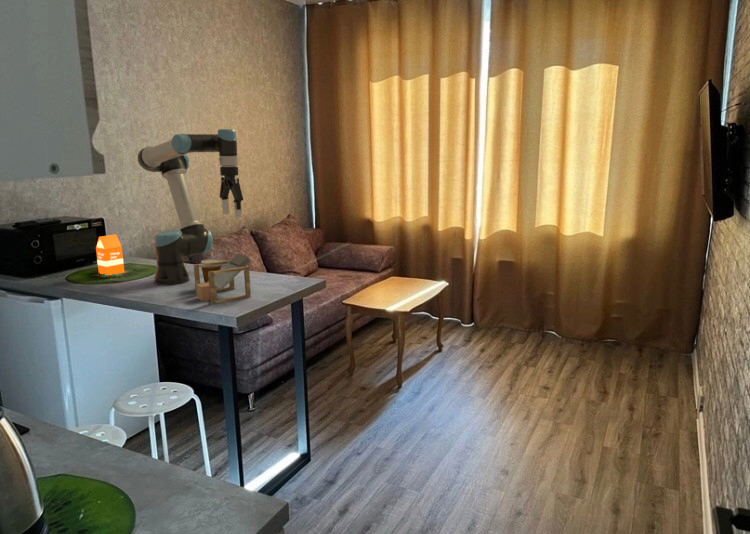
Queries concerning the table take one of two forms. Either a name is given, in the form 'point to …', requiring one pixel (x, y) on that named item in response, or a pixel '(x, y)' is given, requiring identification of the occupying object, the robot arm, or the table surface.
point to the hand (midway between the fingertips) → (232, 215)
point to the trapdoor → (225, 278)
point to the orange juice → (109, 255)
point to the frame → (231, 283)
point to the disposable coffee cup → (209, 268)
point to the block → (204, 291)
